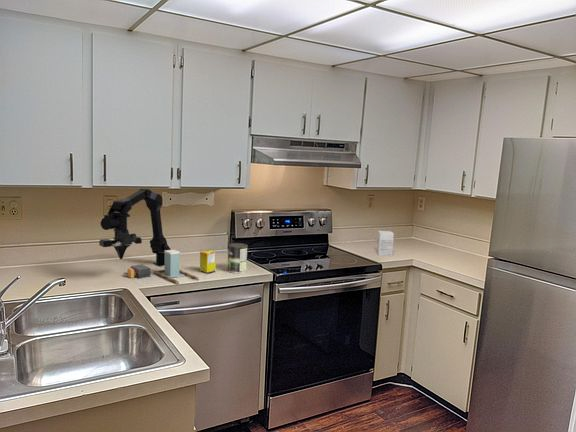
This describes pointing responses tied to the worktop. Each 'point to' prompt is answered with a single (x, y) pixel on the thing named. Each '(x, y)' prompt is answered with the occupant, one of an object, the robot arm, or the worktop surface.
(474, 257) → the worktop surface
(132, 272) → the plunger
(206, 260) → the supplement box
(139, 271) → the reset housing
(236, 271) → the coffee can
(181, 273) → the track
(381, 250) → the supplement box
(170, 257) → the pale teal box
